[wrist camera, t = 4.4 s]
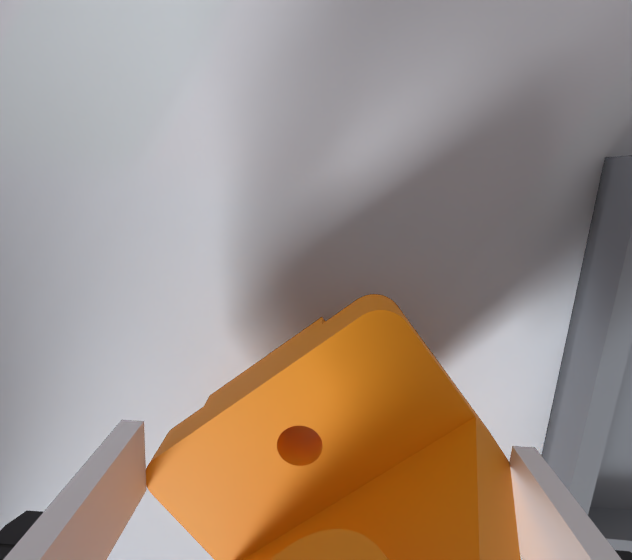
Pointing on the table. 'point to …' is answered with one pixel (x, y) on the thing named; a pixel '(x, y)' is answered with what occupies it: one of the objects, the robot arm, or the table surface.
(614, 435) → the tray
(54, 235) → the table surface
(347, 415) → the bracket
